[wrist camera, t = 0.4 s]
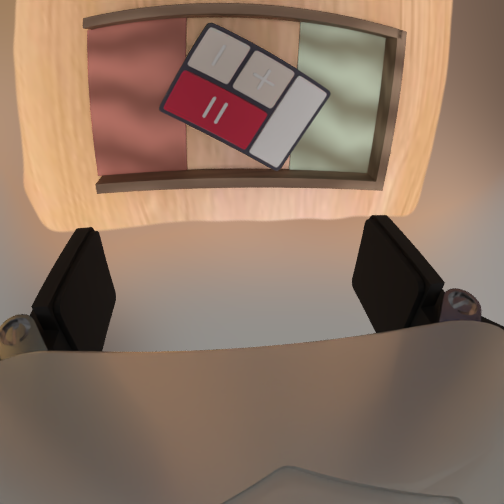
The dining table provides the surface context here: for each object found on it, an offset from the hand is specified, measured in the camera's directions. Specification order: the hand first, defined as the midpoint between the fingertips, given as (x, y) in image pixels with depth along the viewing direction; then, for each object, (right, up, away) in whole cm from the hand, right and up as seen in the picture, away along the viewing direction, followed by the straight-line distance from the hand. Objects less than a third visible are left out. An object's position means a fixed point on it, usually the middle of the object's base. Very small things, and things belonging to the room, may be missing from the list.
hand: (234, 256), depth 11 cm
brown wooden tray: (0, +18, +22) cm, 29 cm away
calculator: (0, +18, +22) cm, 29 cm away
